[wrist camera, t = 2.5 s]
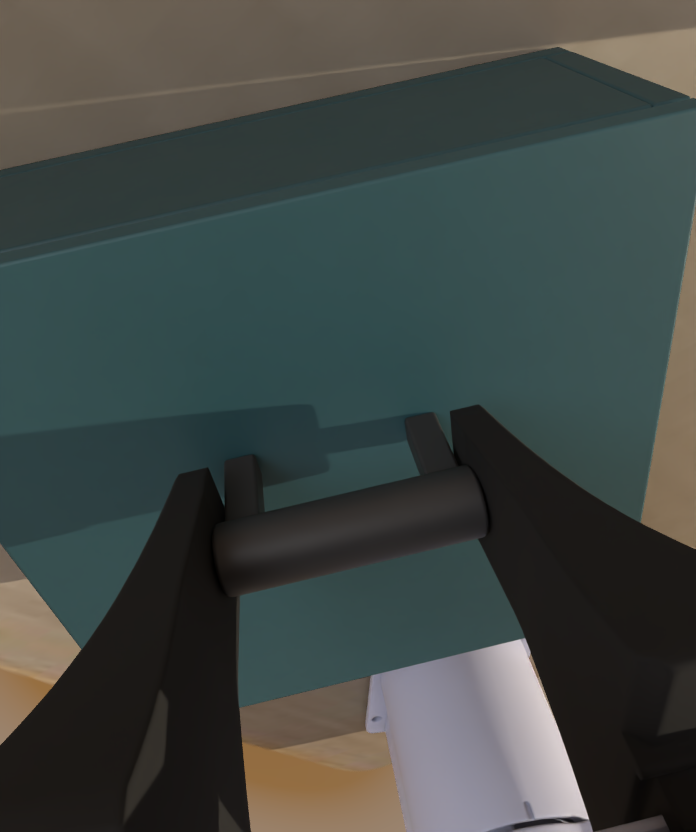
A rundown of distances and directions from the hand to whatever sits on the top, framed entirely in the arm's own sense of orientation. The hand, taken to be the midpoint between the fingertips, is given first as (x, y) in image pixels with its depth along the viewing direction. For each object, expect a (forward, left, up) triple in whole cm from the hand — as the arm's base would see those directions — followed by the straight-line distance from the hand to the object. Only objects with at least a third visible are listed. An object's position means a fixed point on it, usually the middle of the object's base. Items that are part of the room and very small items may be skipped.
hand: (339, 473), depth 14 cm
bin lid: (-2, 0, -1) cm, 3 cm away
